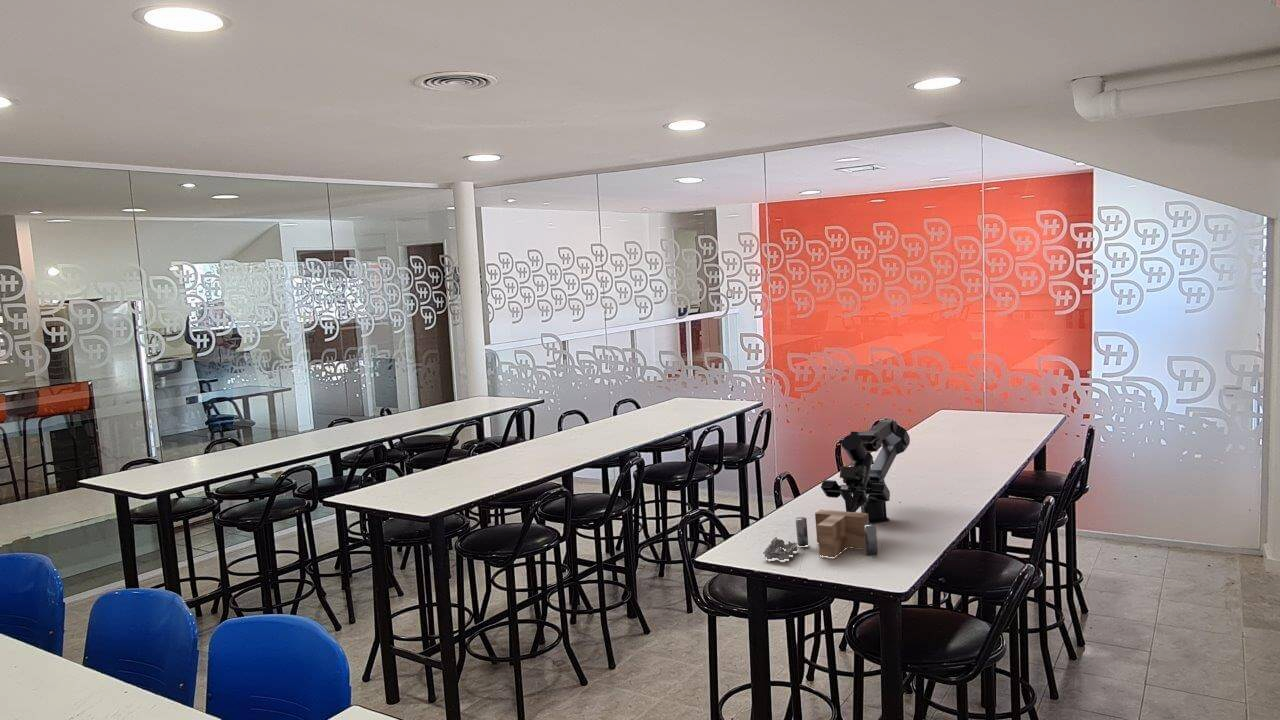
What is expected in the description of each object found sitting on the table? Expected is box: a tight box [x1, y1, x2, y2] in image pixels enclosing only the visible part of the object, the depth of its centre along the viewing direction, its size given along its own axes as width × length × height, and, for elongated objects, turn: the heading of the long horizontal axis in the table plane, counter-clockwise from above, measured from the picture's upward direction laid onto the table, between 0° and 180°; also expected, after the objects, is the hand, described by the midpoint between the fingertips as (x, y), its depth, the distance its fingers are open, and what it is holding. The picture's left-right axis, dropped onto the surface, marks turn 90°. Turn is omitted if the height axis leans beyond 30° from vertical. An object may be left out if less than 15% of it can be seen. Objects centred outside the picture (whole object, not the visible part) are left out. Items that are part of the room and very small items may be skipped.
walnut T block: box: [814, 509, 869, 557], centre depth 234 cm, size 14×14×9 cm
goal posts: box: [795, 516, 879, 556], centre depth 234 cm, size 3×23×8 cm, turn 55°
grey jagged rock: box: [762, 536, 798, 560], centre depth 234 cm, size 11×8×4 cm
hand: (848, 516), depth 242 cm, fingers closed
